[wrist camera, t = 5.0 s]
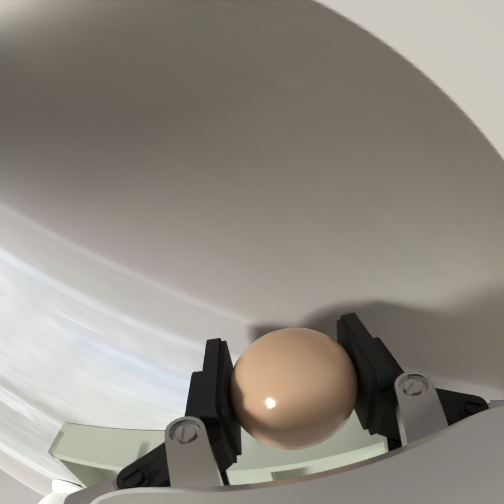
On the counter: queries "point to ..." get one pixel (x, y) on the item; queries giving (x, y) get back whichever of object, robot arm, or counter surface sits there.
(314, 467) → the egg tray
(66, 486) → the jar
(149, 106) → the counter surface
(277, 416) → the brown egg
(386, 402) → the robot arm
